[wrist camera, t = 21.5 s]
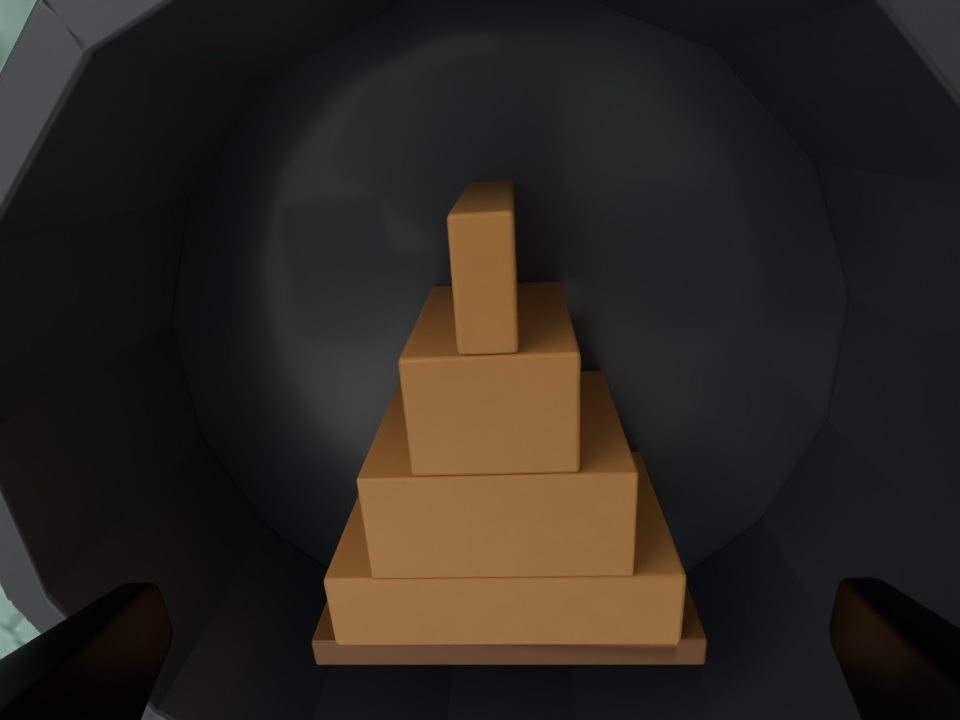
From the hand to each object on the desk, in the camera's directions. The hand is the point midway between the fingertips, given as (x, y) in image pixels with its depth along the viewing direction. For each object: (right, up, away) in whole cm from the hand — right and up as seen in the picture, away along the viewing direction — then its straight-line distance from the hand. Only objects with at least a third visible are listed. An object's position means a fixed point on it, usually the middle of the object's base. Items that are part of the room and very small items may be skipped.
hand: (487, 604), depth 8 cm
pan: (0, +3, +5) cm, 6 cm away
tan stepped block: (0, +3, +5) cm, 6 cm away
